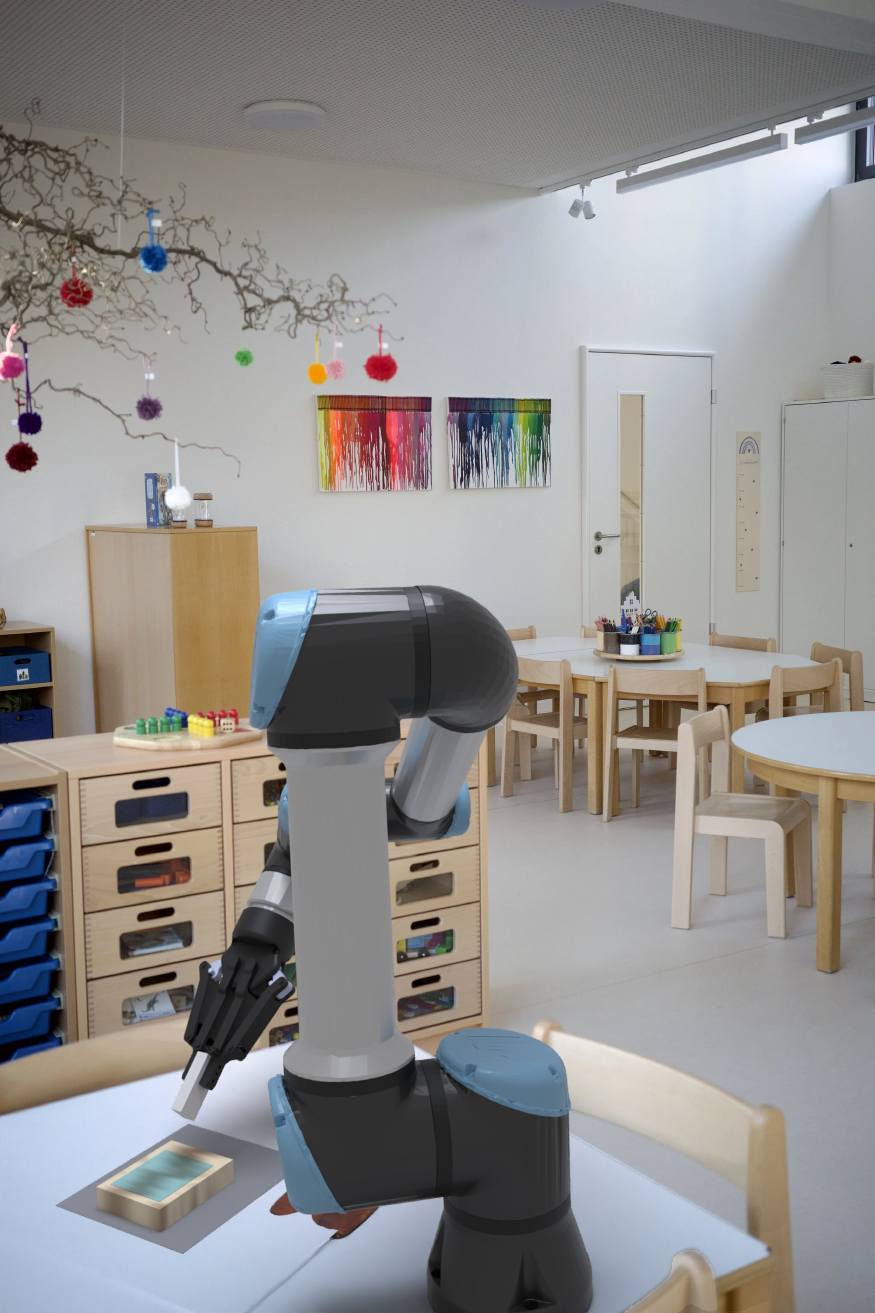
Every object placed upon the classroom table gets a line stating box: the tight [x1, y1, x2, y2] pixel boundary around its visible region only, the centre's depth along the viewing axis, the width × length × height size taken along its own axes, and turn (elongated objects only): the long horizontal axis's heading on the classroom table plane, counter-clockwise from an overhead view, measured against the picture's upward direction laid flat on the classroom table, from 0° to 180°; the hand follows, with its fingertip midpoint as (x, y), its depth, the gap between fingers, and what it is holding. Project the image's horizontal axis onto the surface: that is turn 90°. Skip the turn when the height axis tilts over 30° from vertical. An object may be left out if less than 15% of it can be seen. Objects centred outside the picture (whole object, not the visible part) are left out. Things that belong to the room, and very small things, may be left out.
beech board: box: [96, 1140, 234, 1232], centre depth 127 cm, size 9×2×11 cm
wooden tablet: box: [269, 1190, 379, 1240], centre depth 132 cm, size 27×10×2 cm, turn 153°
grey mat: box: [55, 1123, 284, 1255], centre depth 129 cm, size 18×20×1 cm
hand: (182, 1115), depth 128 cm, fingers closed
